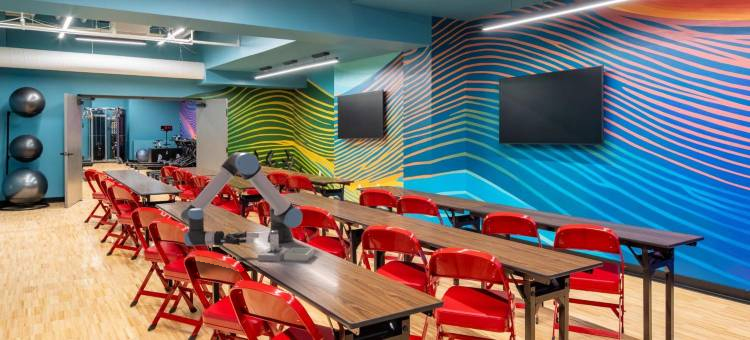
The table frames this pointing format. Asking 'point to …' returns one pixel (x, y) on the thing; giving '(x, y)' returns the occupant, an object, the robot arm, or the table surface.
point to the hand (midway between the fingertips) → (255, 237)
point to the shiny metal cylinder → (274, 241)
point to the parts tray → (299, 255)
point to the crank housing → (272, 255)
